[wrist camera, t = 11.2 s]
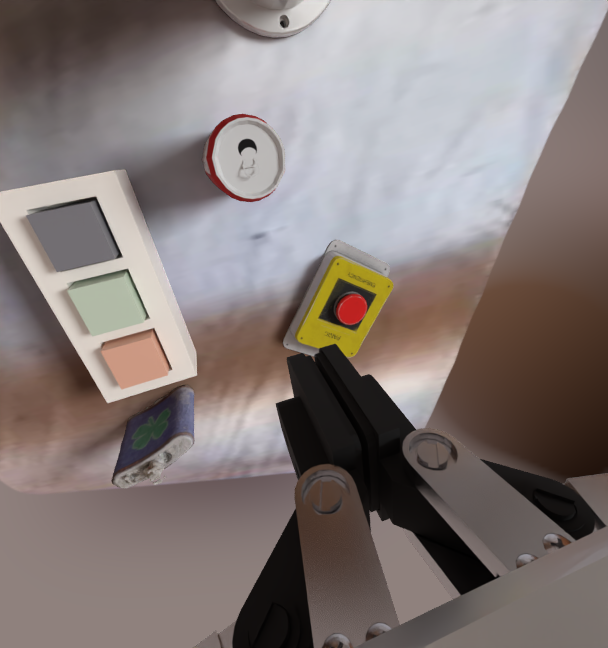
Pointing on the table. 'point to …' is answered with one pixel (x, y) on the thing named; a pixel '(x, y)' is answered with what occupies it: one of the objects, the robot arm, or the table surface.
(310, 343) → the emergency button
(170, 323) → the key block
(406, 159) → the table surface
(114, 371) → the terracotta key
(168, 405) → the flask
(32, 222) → the charcoal key
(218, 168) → the soda can
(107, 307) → the sage key
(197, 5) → the table surface
